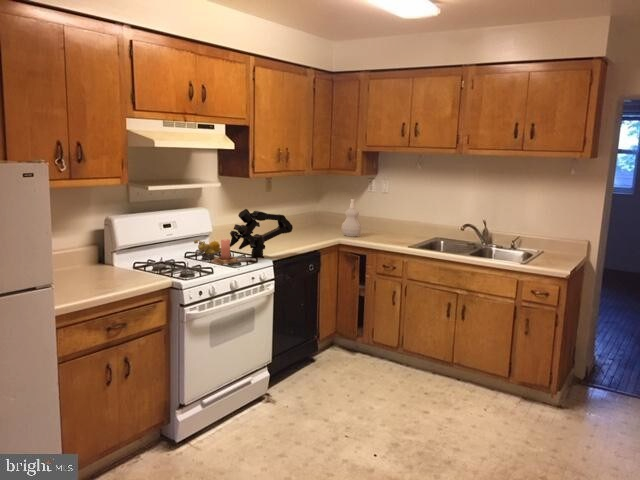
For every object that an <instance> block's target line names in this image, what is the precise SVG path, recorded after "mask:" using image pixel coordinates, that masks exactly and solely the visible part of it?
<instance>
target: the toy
mask: <svg viewBox="0 0 640 480" xmlns="http://www.w3.org/2000/svg"><path fill="white" fill-rule="evenodd" d="M193 243H194V244H198V248H197V249H198V251H200V252H203V253H204V254H205V255H214V254H219V253H221V244H220V242H219V241H217V240H216V241H215V240H214V241H211V242H210V243H206V241H202V240H200V239H194V240H193Z"/></svg>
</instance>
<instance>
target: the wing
mask: <svg viewBox="0 0 640 480" xmlns="http://www.w3.org/2000/svg"><path fill="white" fill-rule="evenodd" d="M247 260H250V257H249V258H248V257H243V258H241V259H237V262H236V263H240V262H239V261H244V262H248V261H247Z"/></svg>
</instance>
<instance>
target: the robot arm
mask: <svg viewBox="0 0 640 480" xmlns="http://www.w3.org/2000/svg"><path fill="white" fill-rule="evenodd" d="M237 217H239V219H240V220H241V221H242V223H244V224H241V225H240V224H234V227H233V230H231V231H230V232H229V234H230V237H231V240H230V248H231V247H233V246H234V245H236V244H237V243H238V242H239V240H240V239H242V242H241V243H240V245H239V246H238V249H239V250H242V249H244V248H245V247H248V246H249V247H250V249H251V251H250V252H251V256H250V257H251V258H263V257H264V250H266V245H265V242H268V241H269V240H271V239H273V238H275V237H277V236H280V235H282V234H289V233H291V232H292V231H293V225H292V223H291V222H290V221H289V220H288V218H286V216H285V215H284V214H276V213H268V212H267V213H266V212H264V211H259V210H253V212H250V211H249V209H247V208H244V210H242V211H240V212H239V213H238V216H237ZM266 220H267V221H268V220H269V221H277V227H276V228H274V229H272V230H270V231H268V232H265V233H263V234H258V233H257V234H256V233H255V234H254V230H255V229H256V228H257V227H260V226H261V225H260V222H263V221H266ZM258 221H259V222H258ZM253 234H254V235H253Z"/></svg>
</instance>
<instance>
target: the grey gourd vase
mask: <svg viewBox="0 0 640 480" xmlns="http://www.w3.org/2000/svg"><path fill="white" fill-rule="evenodd" d="M355 206H356V205H355V199H354V198H353V199H352V198H351V199H350V204H349V208H348V209H347V210H345V212H344V214H345V217H346V218H345V220H344V221H343V222H342V224H341V227H340V228H341V232H342V234H343V235H344V236H345V237H351V238H354V237H358V236H359V235H360V234H361V231H362V225H361V224H360V222H359V220H358V217H359V215H360V211H358V210H357V209H356V207H355Z"/></svg>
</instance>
